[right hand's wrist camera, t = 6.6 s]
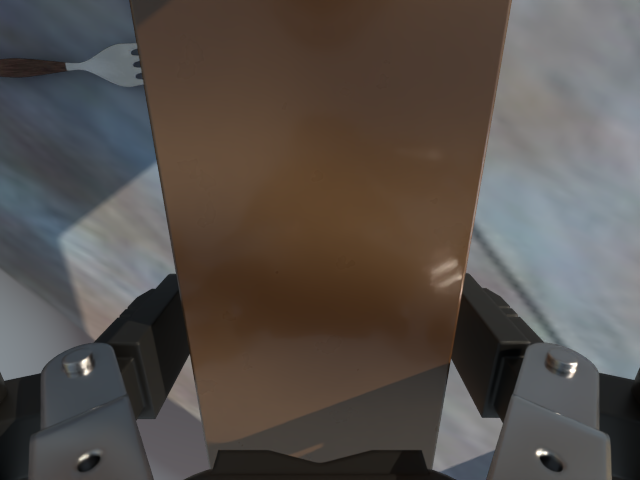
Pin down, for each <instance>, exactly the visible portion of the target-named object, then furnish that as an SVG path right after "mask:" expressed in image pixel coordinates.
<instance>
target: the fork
mask: <svg viewBox="0 0 640 480" xmlns="http://www.w3.org/2000/svg"><path fill="white" fill-rule="evenodd" d="M135 49H138V48H137V43H130V44H116V45H112V46H110V47H108V48H106V49H104V50H103V51H101V52H100V53H98V54H97V55H95V56H94V57H92V58H91V59H89V60H87V61H85V62H82V63H65V62H55V61H45V60H34V59H20V58H11V59H0V77H30V76H38V75H45V74H51V73H58V72H64V71H71V70H86V71H89V72H91V73H94V74H96V75H98V76H100V77H102V78H103V79H105V80H107V81H109V82H111V83H114V84H116V85H119V86H123V87H133V86H138V85H144V83H143V79H137V78H136V75H137V74H139V73H142V72H141V68H138V67H134V66H133V64H134V63H135V62H137V61H140V60H139V55H137V56H135V55H132V54H131V51H132V50H135Z"/></svg>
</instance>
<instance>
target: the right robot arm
mask: <svg viewBox="0 0 640 480" xmlns="http://www.w3.org/2000/svg"><path fill="white" fill-rule="evenodd" d="M189 354H190V351H189V345H188V340H187V334H186V328H185V322H184V316H183V310H182V305H181V299H180V293H179V287H178V281H177V275H176V274H169V275H168V276H167V277H166V278H165V279H164V280H163V281H162V282H161V283H160V284H159V286H158V287H157V288H156V289H151V290H149V291H147V292H146V293H144V294H142V295H140V296H139V297H137V298H136V299H135V300H134V301H133V302H132V303H131V304H130V305H129V306H128V309H125V311H124V312H123V313H122V314H121V315H120V317H119V318H117V319H116V320H115V321H114V322H113V323H112V324H111V325H110V326H109V327H108V328H107V329H106V330H105V331H104V332H103V333H102V334H101V335H100V337H99V338H98V339H97V340H96V341H95V342H94V343H88V344H83V345H80V346H77V347H74V348H71V349H69V350H67V351H64V352H63V353H61V354H59V355H57V356H56V357H54V358H53V359H52V360H51V361H49V362H48V363H47V364H46V366H45V367H44V368H43V370H42V372H41V373H40V374H35V375H31V376H26V377H21V378H16V379H11V380H7V381H4V380H3V378H2V375H1V373H0V480H154V479H153V475H152V472H151V469H150V465H149V462H148V459H147V456H146V452H145V449H144V446H143V442H142V439H141V436H140V432H139V429H138V426H137V422H136V420H137V419H156V417H157V415H158V413H159V411H160V409H161V407H162V405H163V403H164V402H165V400H166V398H167V396H168V394H169V392H170V390H171V388H172V386H173V384H174V383H175V381H176V379H177V377H178V375H179V373H180V371H181V369H182V367H183V366H184V364H185V362H186V360H187V358H188V356H189ZM451 359H452V361H453V363H454V365H455V367H456V369H457V371H458V373H459V374H460V376H461V378H462V380H463V382H464V384H465V386H466V388H467V390H468V392H469V394H470V396H471V397H472V399H473V401H474V403H475V405H476V407H477V409H478V411H479V413H480V415H481V417H482V418H500V419H501V421H502V422H503V426H502V429H501V432H500V436H499V439H498V442H497V446H496V449H495V452H494V455H493V459H492V462H491V465H490V469H489V472H488V475H487V479H486V480H640V368H639V371H638V373H637V375H636V378H635V380H631V379H626V378H622V377H617V376H612V375H607V374H602V373H599V372H598V370H597V368H596V367H595V366H594V364H593V363H592V362H591V361H589V360H588V359H587V358H586V357H584V356H583V355H581V354H579V353H577V352H576V351H573V350H571V349H569V348H566V347H564V346H560V345H557V344H552V343H544V342H543V341H542V340H541V339H540V338H539V337H538V335H537V334H536V333H535V332H534V331H533V330H532V329H531V328H530V327H529V326H528V325H527V324H526V323H525V322H524V321H523V320H522V319H521V318H520V317H518V314H517V313H516V312H515V311H514V310H513V309H510V306H509V305H508V304H507V303H506V302H505V301H504V300H503V299H502V298H501V297H500V296H499V295H497V294H495V293H493V292H492V291H490V290H488V289H486V288H482V287H481V286H480V285H479V284H478V283H477V282H476V281H475V280H474V279H473V277H472V276H471V275H470V274H468V273H465V279H464V285H463V291H462V296H461V302H460V308H459V314H458V320H457V326H456V332H455V338H454V344H453V349H452V355H451ZM184 480H456V479H454V478H452V477H450V476H448V475H445V474H442V473H440V472H437V471H434V470H431V469H427V466H426V463H425V459H424V456H423V453H422V450H370V451H366V452H362V453H358V454H354V455H351V456H347V457H343V458H339V459H335V460H331V461H328V462H323V463H317V462H312V461H309V460H305V459H301V458H297V457H293V456H289V455H286V454H282V453H278V452H274V451H270V450H218V453H217V456H216V459H215V463H214V466H213V469H209V470H206V471H203V472H200V473H198V474H195V475H193V476H190V477H188V478H186V479H184Z"/></svg>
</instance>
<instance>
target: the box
mask: <svg viewBox="0 0 640 480" xmlns="http://www.w3.org/2000/svg"><path fill="white" fill-rule="evenodd" d="M129 2H130V7H131V13H132V19H133V25H134V31H135V37H136V42H137V48H138V54H139V60H140V66H141V72H142V77H143V83H144V89H145V95H146V101H147V106H148V112H149V118H150V124H151V130H152V136H153V141H154V147H155V153H156V159H157V165H158V171H159V176H160V182H161V188H162V194H163V200H164V206H165V211H166V217H167V223H168V229H169V235H170V241H171V246H172V252H173V258H174V264H175V270H176V275H177V281H178V287H179V293H180V299H181V305H182V310H183V316H184V322H185V328H186V334H187V340H188V345H189V351H190V357H191V363H192V369H193V375H194V380H195V386H196V392H197V398H198V404H199V410H200V415H201V421H202V427H203V433H204V439H205V444H206V450H207V456H208V462H209V468H210V469H213V466H214V463H215V459H216V456H217V453H218V450H270V451H274V452H278V453H282V454H286V455H289V456H293V457H297V458H301V459H305V460H309V461H312V462H317V463H323V462H328V461H331V460H335V459H339V458H343V457H347V456H351V455H354V454H358V453H362V452H366V451H370V450H422V453H423V456H424V459H425V463H426V466H427V469H431V470H432V467H433V461H434V455H435V449H436V444H437V438H438V432H439V426H440V420H441V414H442V408H443V402H444V397H445V391H446V385H447V379H448V373H449V367H450V361H451V355H452V349H453V344H454V338H455V332H456V326H457V320H458V314H459V308H460V302H461V296H462V291H463V285H464V279H465V273H466V267H467V261H468V255H469V249H470V243H471V238H472V232H473V226H474V220H475V214H476V208H477V202H478V196H479V191H480V185H481V179H482V173H483V167H484V161H485V155H486V149H487V143H488V138H489V132H490V126H491V120H492V114H493V108H494V102H495V96H496V90H497V85H498V79H499V73H500V67H501V61H502V55H503V49H504V43H505V38H506V32H507V26H508V20H509V14H510V8H511V2H512V0H129Z"/></svg>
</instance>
